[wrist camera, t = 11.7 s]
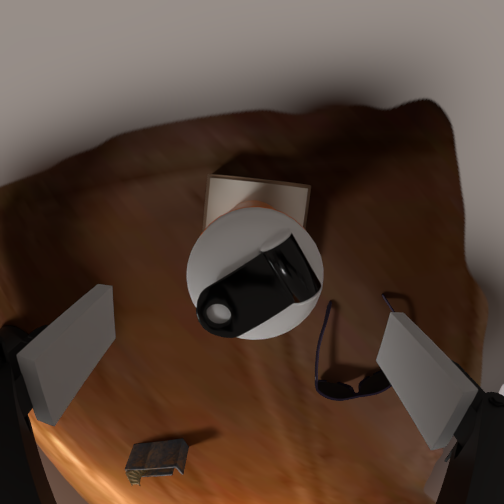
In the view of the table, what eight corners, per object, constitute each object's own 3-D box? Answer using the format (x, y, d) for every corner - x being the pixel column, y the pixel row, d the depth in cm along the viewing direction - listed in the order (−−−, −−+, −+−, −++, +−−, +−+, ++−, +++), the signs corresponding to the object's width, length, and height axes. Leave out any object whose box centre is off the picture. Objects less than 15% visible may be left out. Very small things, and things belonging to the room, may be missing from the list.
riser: (204, 264, 43) (199, 274, 38) (211, 173, 40) (207, 174, 36) (293, 273, 43) (297, 284, 39) (305, 184, 40) (311, 185, 36)
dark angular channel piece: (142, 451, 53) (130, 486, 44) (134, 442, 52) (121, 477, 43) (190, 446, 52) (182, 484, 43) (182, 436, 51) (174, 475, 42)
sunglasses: (312, 388, 48) (317, 408, 43) (308, 302, 44) (314, 317, 40) (389, 373, 48) (399, 390, 43) (396, 289, 44) (410, 302, 39)
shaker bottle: (198, 226, 37) (145, 284, 18) (258, 176, 36) (267, 180, 16) (248, 282, 39) (246, 384, 19) (306, 235, 37) (362, 302, 18)
